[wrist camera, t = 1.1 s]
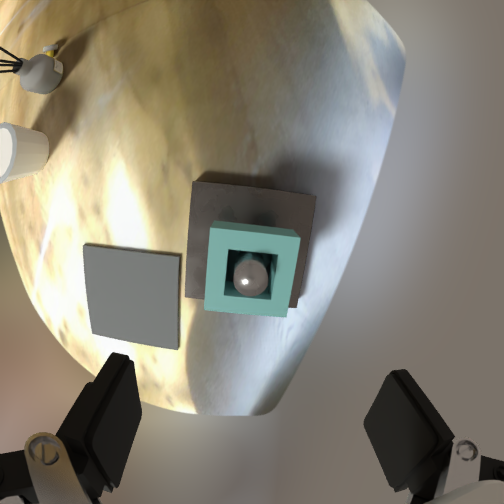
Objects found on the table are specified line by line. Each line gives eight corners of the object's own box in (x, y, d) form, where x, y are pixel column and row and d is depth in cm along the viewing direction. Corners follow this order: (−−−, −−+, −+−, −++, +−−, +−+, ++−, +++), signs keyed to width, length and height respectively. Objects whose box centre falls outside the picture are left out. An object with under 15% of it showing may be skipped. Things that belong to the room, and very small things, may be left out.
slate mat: (84, 244, 28) (82, 245, 28) (179, 256, 29) (179, 257, 29) (93, 332, 31) (92, 333, 31) (178, 348, 32) (177, 350, 32)
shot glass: (13, 152, 24) (-22, 153, 17) (42, 115, 23) (6, 109, 17) (30, 190, 26) (-7, 197, 19) (60, 154, 25) (23, 154, 18)
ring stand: (195, 180, 27) (170, 184, 17) (312, 195, 28) (348, 206, 18) (187, 291, 30) (166, 341, 20) (294, 301, 31) (314, 354, 21)
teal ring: (214, 220, 22) (210, 227, 19) (292, 229, 22) (300, 237, 20) (208, 293, 24) (203, 309, 21) (281, 300, 24) (286, 317, 21)
